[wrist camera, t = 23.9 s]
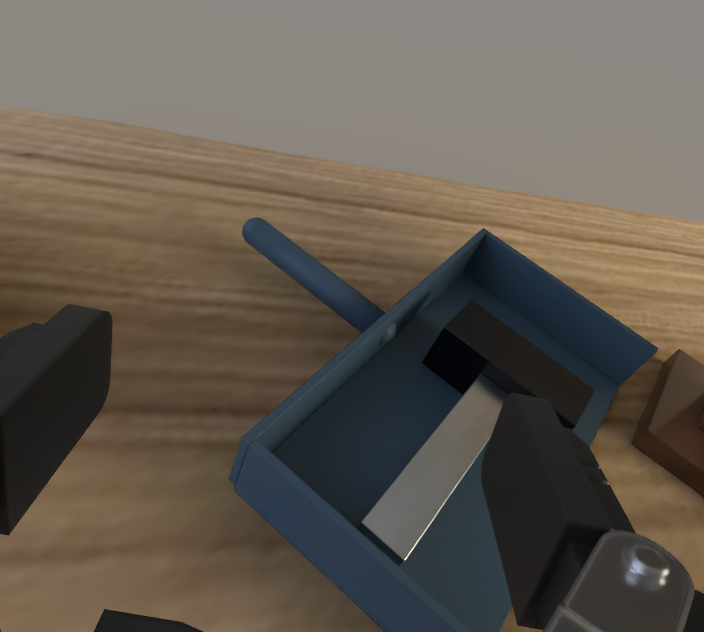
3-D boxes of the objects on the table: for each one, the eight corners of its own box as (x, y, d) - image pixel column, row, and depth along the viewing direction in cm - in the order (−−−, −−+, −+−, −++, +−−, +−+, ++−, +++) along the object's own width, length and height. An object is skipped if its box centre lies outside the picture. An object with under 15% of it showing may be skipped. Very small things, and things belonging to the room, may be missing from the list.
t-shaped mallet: (442, 632, 23) (478, 608, 21) (293, 496, 25) (311, 461, 23) (562, 422, 33) (596, 389, 31) (447, 334, 35) (471, 298, 32)
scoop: (617, 386, 37) (658, 348, 34) (461, 703, 22) (511, 680, 19) (347, 191, 42) (363, 145, 39) (76, 343, 27) (72, 286, 25)
